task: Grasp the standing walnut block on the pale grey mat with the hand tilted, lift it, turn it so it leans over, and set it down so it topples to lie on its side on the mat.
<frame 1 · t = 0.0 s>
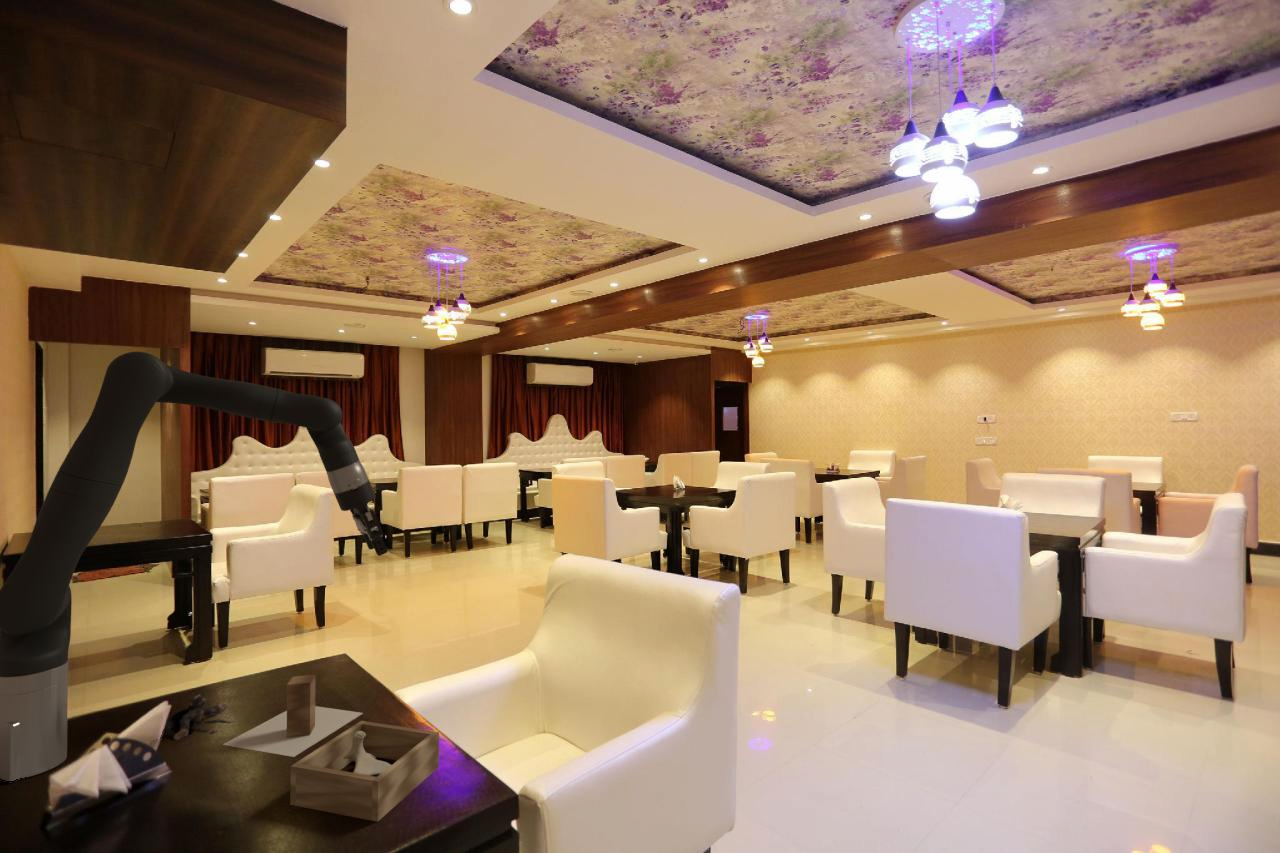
hand: (378, 550, 142), 31 cm above the table, tool tilted 20°, fingers open, 8 cm apart
bone: (369, 787, 104), resting in bone crate
bone crate: (368, 784, 104), on the table
dark grey knobby piece: (197, 728, 125), on the table
walnut block: (301, 731, 121), point 1 cm above the table, touching mat
mat: (296, 731, 122), on the table
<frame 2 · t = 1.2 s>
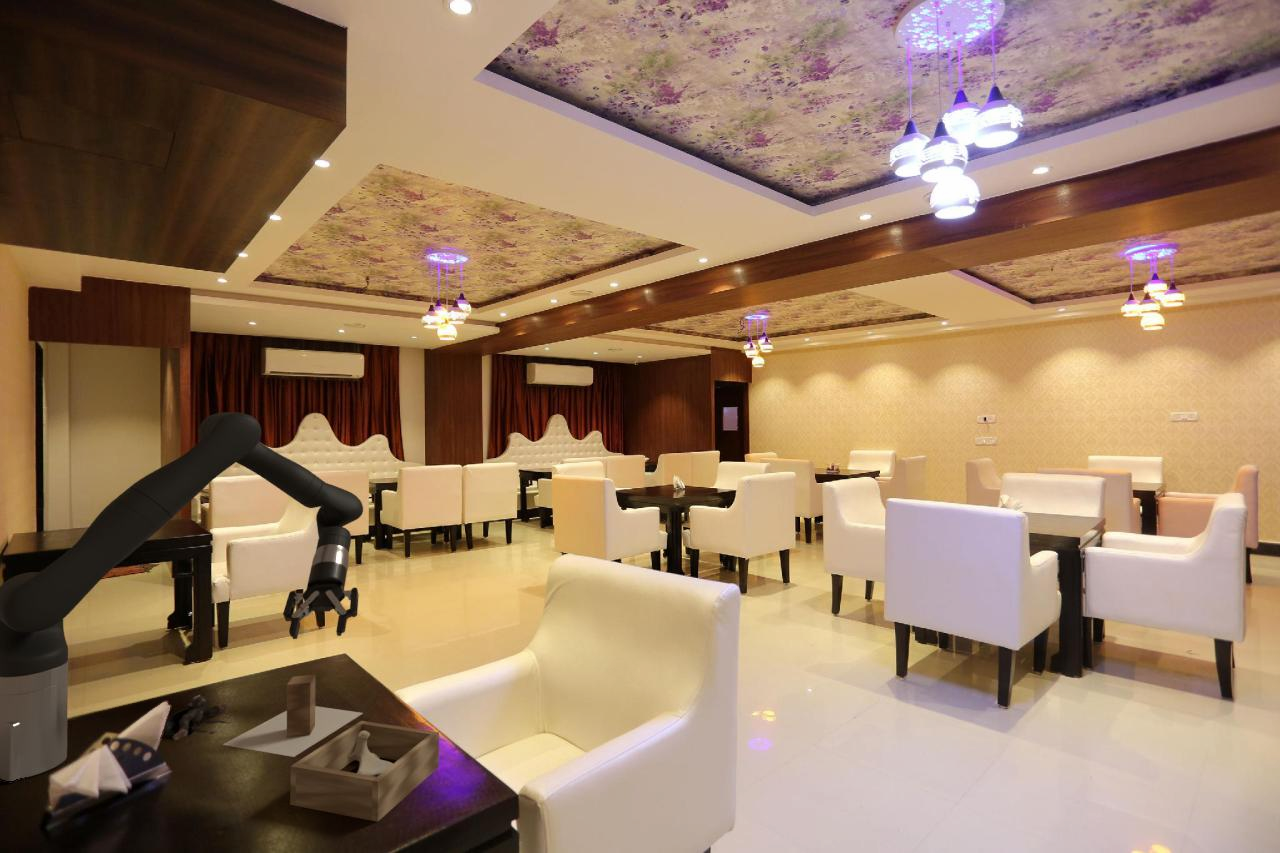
hand: (316, 635, 132), 15 cm above the table, tool tilted 45°, fingers open, 8 cm apart
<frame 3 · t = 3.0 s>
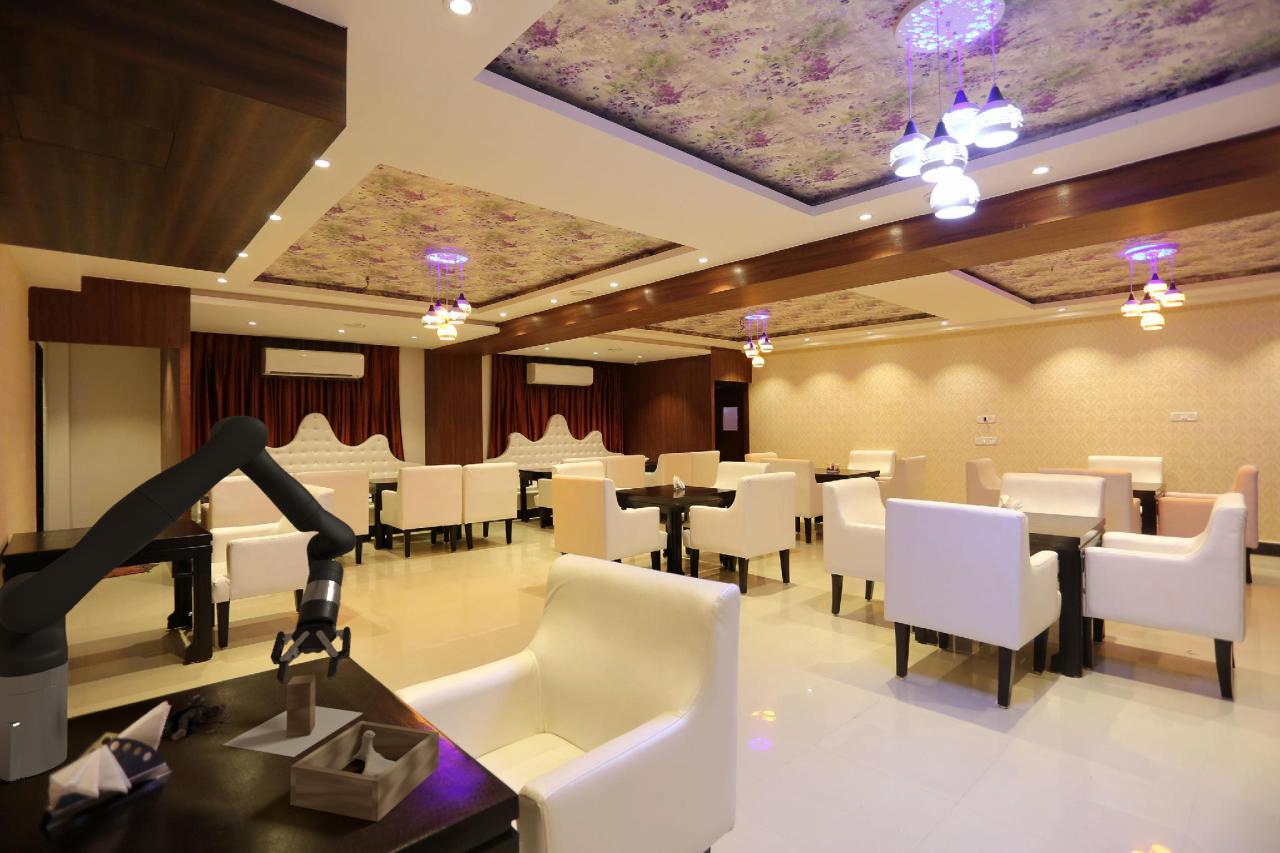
hand: (306, 680, 124), 9 cm above the table, tool tilted 45°, fingers open, 8 cm apart
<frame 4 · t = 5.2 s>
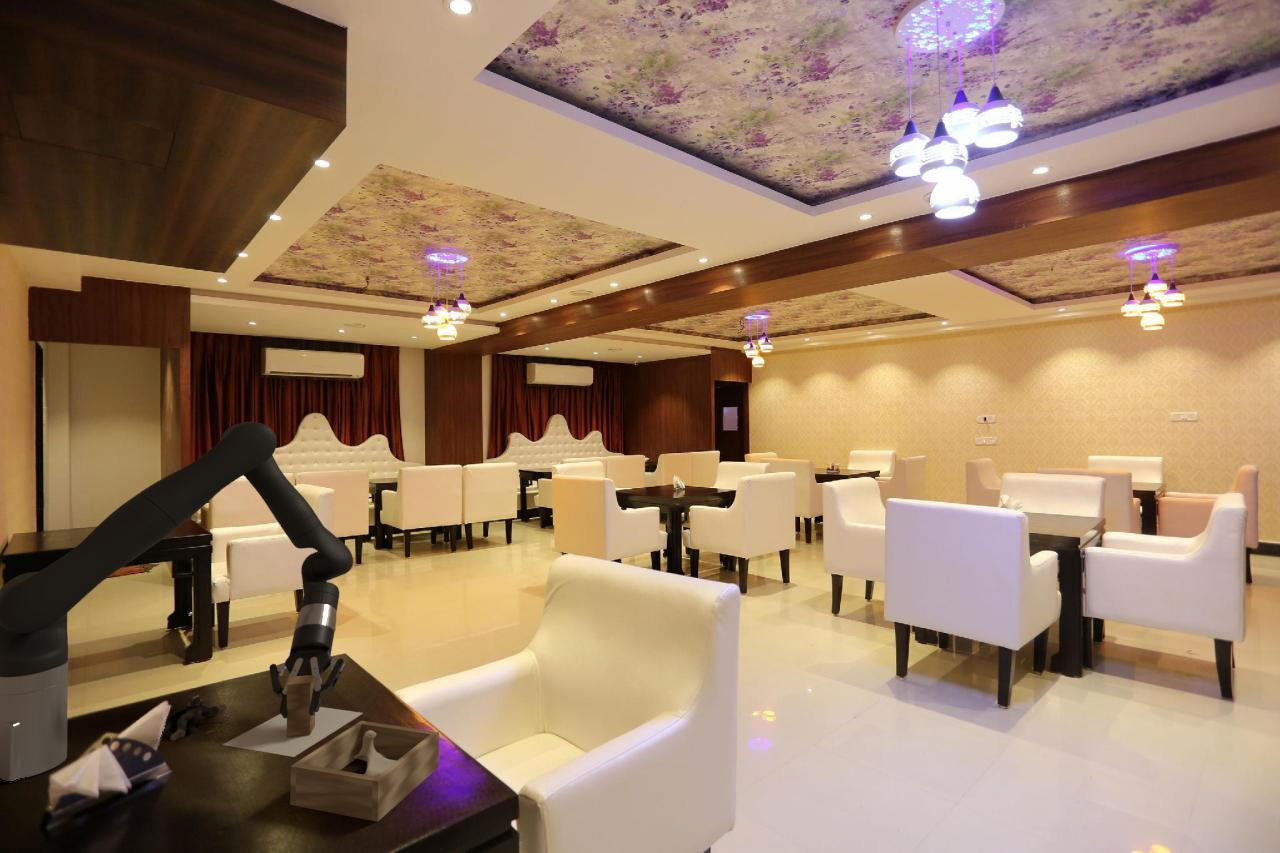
hand: (298, 714, 119), 5 cm above the table, tool tilted 45°, fingers closed on walnut block, 4 cm apart
walnut block: (301, 731, 121), point 1 cm above the table, touching gripper, mat
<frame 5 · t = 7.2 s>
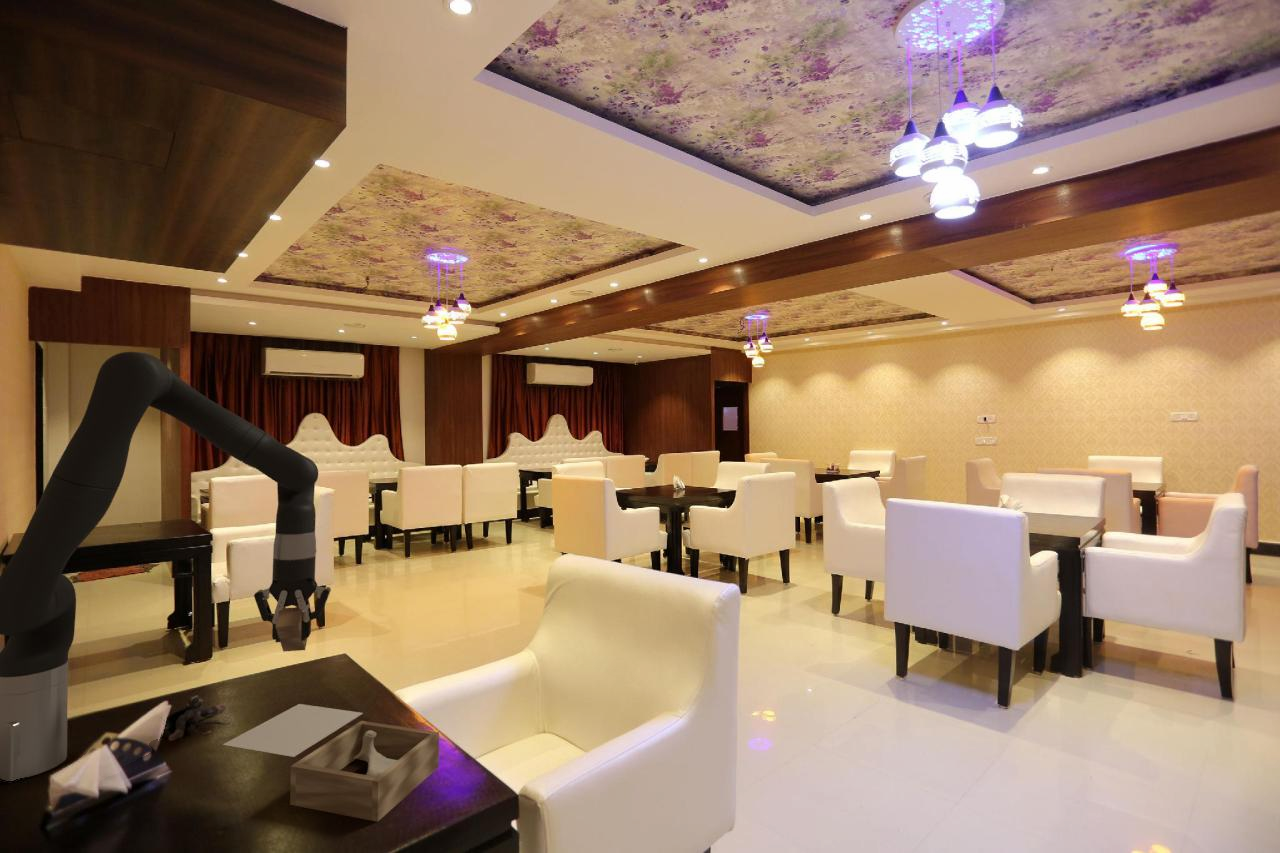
hand: (291, 640, 126), 16 cm above the table, tool pointing down, fingers closed on walnut block, 4 cm apart
walnut block: (296, 641, 130), point 15 cm above the table, tilted 44°, touching gripper
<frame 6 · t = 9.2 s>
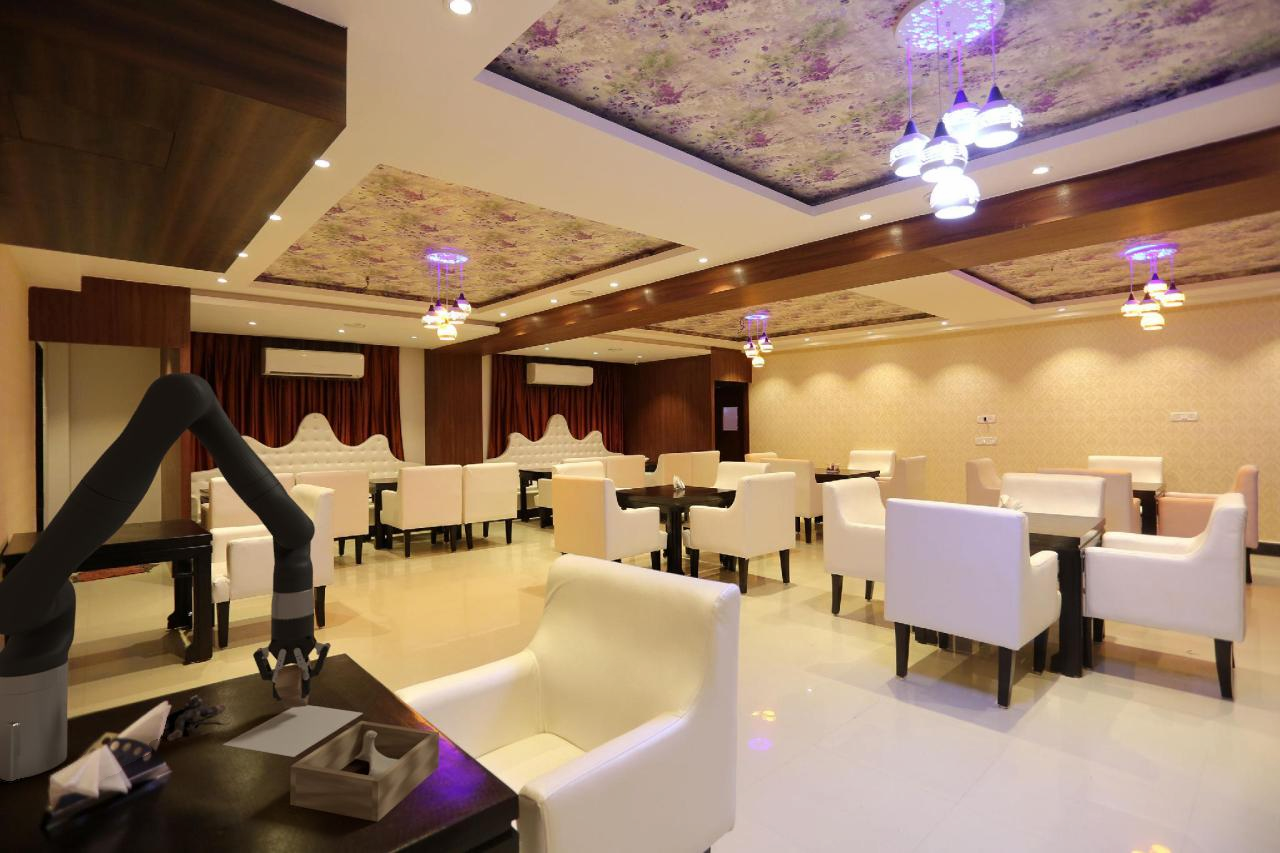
hand: (292, 697, 125), 5 cm above the table, tool pointing down, fingers closed on walnut block, 4 cm apart
walnut block: (298, 697, 129), point 4 cm above the table, tilted 45°, touching gripper
when the fingers open (5 cm above the table, at t = 9.5 s): walnut block moves 2 cm and tips over, resting on mat.
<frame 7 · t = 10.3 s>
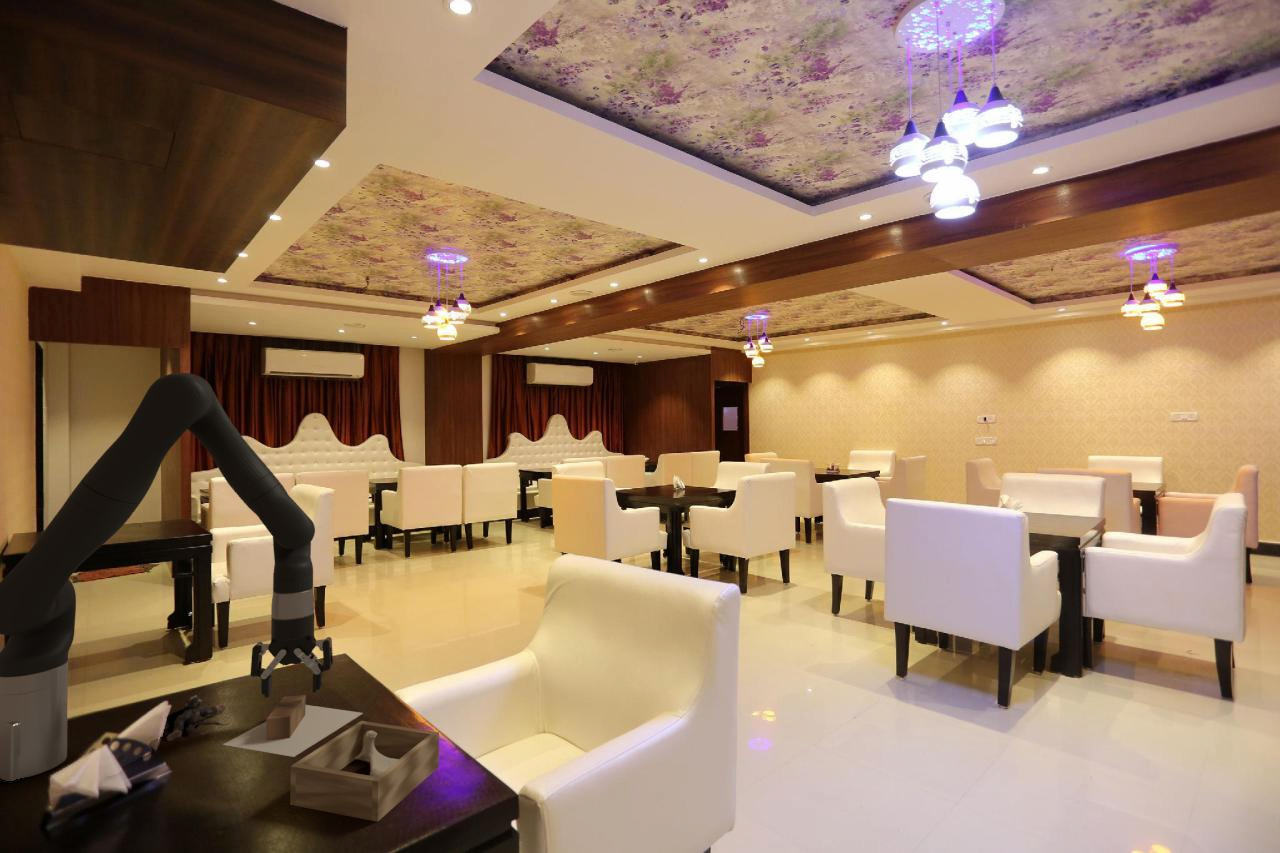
hand: (292, 693, 125), 6 cm above the table, tool pointing down, fingers open, 8 cm apart
walnut block: (294, 705, 128), point 3 cm above the table, tilted 90°, touching mat
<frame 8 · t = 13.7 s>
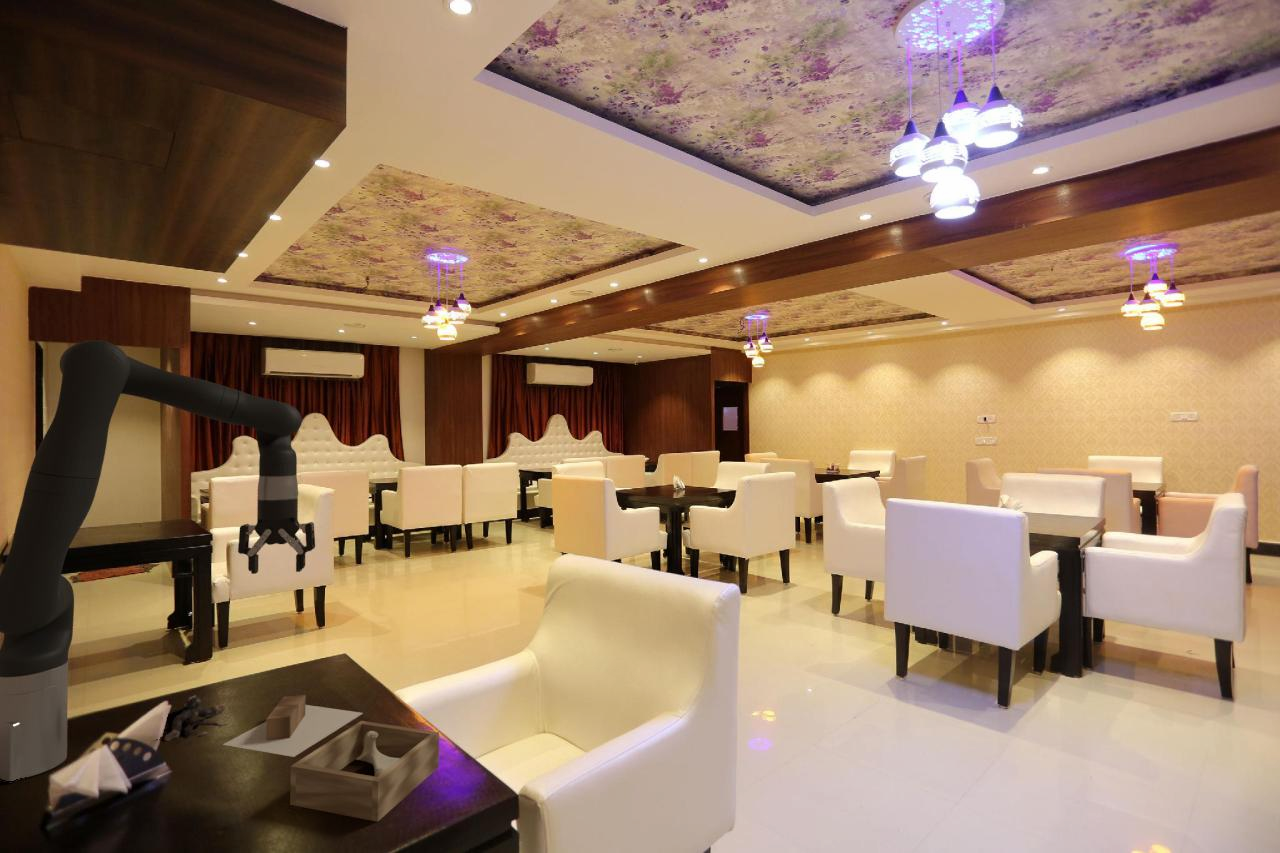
hand: (277, 572, 135), 28 cm above the table, tool pointing down, fingers open, 8 cm apart
at the end: walnut block tilted 90°; walnut block inside the target area (6.3 cm from its centre), point 2.6 cm above the table; the gripper is holding nothing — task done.
